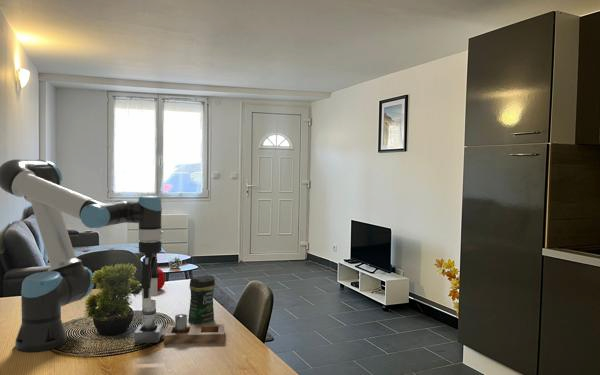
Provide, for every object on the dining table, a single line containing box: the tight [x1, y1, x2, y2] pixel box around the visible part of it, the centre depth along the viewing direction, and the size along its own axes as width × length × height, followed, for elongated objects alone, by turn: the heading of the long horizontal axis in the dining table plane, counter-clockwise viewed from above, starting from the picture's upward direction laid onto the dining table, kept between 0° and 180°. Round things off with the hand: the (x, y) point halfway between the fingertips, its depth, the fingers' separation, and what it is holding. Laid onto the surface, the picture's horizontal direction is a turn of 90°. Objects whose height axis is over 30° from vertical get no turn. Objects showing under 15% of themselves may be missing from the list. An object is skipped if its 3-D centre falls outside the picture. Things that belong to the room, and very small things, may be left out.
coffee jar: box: [187, 274, 216, 325], centre depth 185 cm, size 10×8×19 cm
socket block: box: [133, 323, 163, 344], centre depth 165 cm, size 8×8×4 cm
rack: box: [163, 323, 225, 345], centre depth 166 cm, size 20×10×4 cm, turn 98°
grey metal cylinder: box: [141, 299, 157, 331], centre depth 165 cm, size 5×5×13 cm
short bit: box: [174, 313, 188, 333], centre depth 165 cm, size 4×4×8 cm
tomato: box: [157, 268, 166, 291], centre depth 231 cm, size 10×11×11 cm
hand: (150, 301), depth 164 cm, fingers open, 13 cm apart
